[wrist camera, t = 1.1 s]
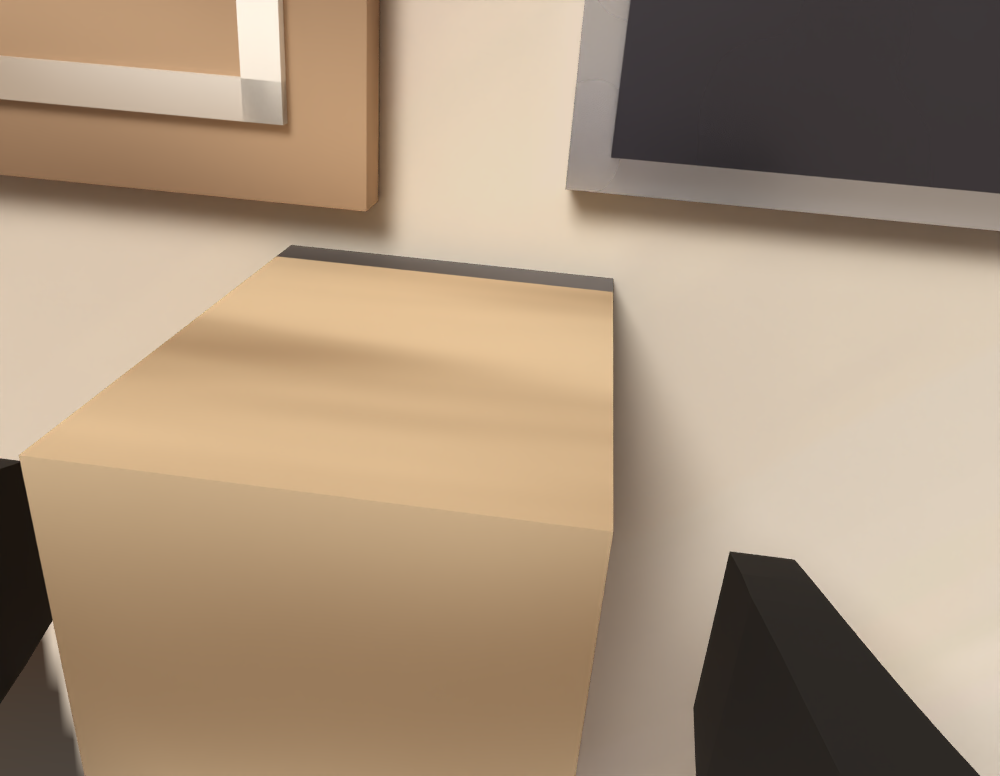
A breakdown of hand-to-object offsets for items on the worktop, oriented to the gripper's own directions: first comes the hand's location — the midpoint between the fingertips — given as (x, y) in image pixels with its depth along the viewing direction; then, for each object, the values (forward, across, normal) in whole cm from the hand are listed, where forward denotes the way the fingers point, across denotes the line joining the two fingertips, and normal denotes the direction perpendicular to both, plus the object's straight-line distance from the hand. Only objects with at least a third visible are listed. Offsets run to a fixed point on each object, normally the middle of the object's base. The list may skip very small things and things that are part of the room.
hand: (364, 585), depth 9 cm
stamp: (+4, 0, 0) cm, 4 cm away
